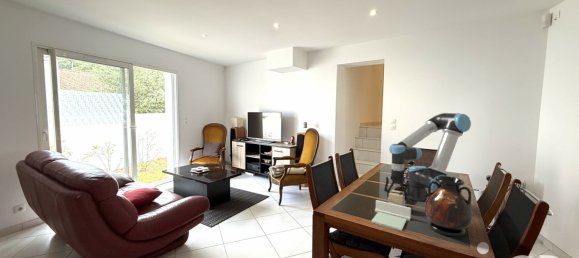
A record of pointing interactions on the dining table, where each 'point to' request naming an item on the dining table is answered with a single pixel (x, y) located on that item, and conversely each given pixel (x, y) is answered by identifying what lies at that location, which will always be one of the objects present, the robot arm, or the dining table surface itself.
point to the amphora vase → (448, 207)
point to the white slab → (393, 209)
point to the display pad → (389, 221)
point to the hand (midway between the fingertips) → (396, 203)
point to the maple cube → (396, 197)
